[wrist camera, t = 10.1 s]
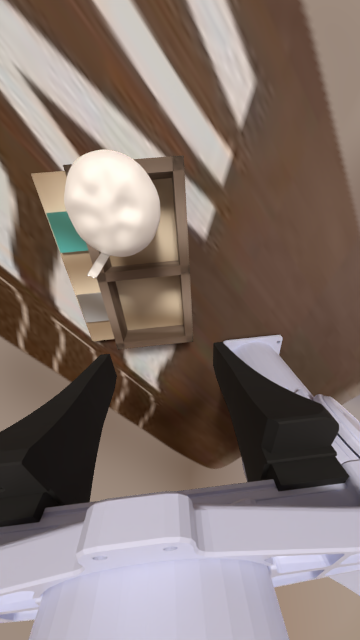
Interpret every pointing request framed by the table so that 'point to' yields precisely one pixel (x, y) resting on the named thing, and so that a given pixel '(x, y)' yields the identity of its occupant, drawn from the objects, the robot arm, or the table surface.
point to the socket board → (130, 266)
